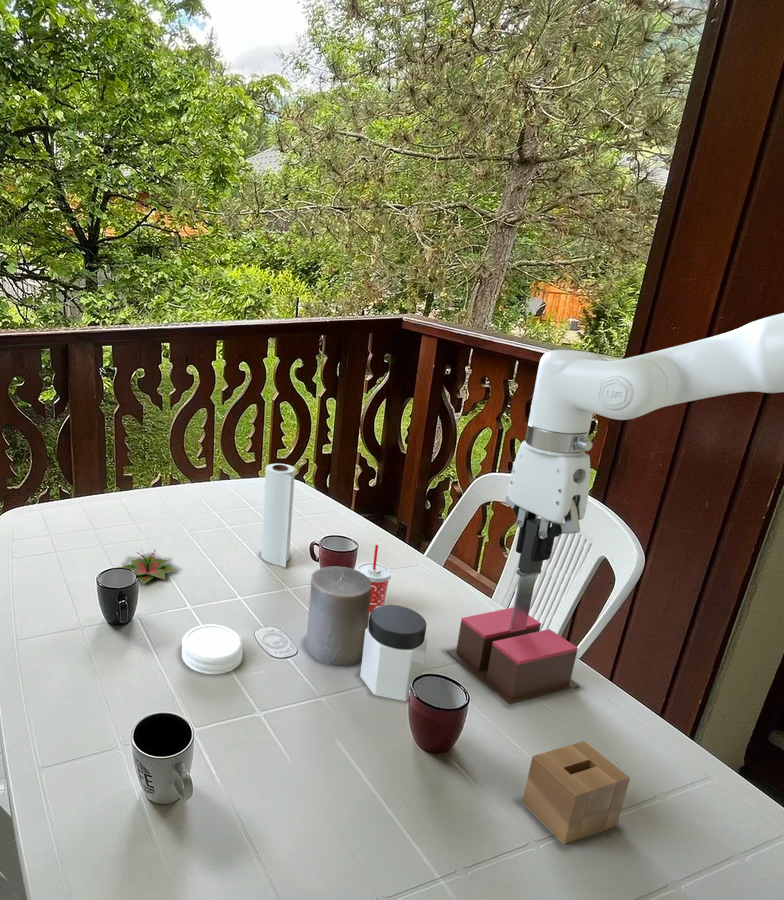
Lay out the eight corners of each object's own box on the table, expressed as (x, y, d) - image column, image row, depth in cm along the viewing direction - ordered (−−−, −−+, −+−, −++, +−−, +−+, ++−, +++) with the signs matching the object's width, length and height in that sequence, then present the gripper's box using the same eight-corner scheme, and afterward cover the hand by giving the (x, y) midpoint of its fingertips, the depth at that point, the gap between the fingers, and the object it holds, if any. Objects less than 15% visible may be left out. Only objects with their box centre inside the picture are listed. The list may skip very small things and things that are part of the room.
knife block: (570, 791, 80) (583, 740, 77) (614, 831, 74) (630, 778, 72) (520, 808, 78) (532, 755, 75) (562, 850, 72) (576, 795, 70)
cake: (510, 641, 110) (517, 602, 108) (578, 691, 98) (588, 649, 96) (445, 655, 106) (451, 616, 104) (508, 710, 94) (517, 666, 92)
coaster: (188, 681, 99) (188, 662, 98) (176, 644, 109) (176, 626, 108) (249, 674, 101) (250, 655, 100) (233, 637, 111) (233, 620, 110)
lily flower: (142, 593, 124) (141, 572, 123) (107, 570, 133) (106, 550, 132) (188, 573, 132) (188, 553, 131) (152, 553, 141) (152, 534, 139)
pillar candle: (369, 644, 109) (378, 566, 104) (356, 677, 101) (365, 594, 96) (314, 629, 113) (320, 553, 108) (297, 659, 105) (303, 579, 100)
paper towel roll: (263, 551, 142) (268, 461, 135) (291, 555, 140) (297, 464, 133) (257, 566, 135) (261, 471, 128) (285, 571, 133) (291, 475, 127)
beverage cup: (345, 610, 119) (351, 542, 115) (367, 600, 122) (374, 534, 118) (370, 626, 114) (378, 556, 110) (393, 615, 118) (401, 547, 113)
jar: (381, 661, 105) (388, 597, 101) (428, 685, 99) (437, 618, 95) (350, 685, 99) (357, 618, 95) (398, 712, 93) (407, 642, 89)
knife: (521, 624, 101) (542, 517, 95) (531, 631, 99) (553, 522, 94) (503, 628, 100) (523, 520, 94) (513, 635, 98) (534, 526, 92)
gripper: (628, 453, 84) (598, 577, 90) (531, 422, 98) (511, 530, 104) (585, 459, 82) (557, 585, 87) (492, 426, 96) (473, 536, 102)
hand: (532, 554), depth 96 cm, fingers closed on knife, 2 cm apart
